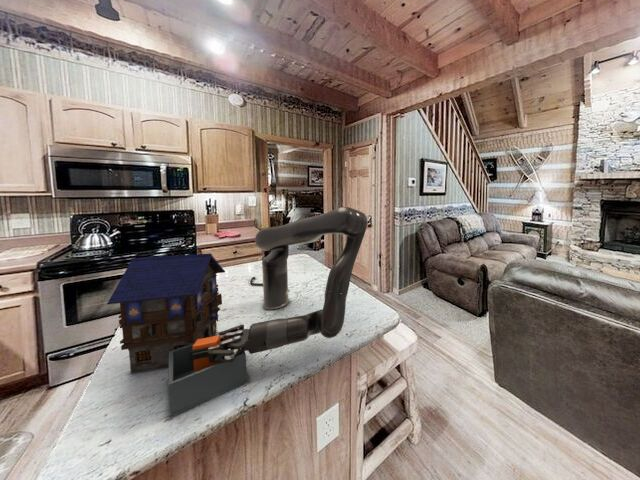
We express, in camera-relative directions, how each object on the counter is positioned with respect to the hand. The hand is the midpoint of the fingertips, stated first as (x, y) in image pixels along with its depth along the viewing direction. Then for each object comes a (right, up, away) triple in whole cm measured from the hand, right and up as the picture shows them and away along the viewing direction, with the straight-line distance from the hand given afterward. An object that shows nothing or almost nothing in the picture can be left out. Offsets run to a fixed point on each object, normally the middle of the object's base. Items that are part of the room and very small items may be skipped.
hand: (193, 350), depth 64 cm
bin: (+2, -9, +2) cm, 10 cm away
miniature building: (-15, -8, +13) cm, 21 cm away
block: (+3, -6, +2) cm, 7 cm away
